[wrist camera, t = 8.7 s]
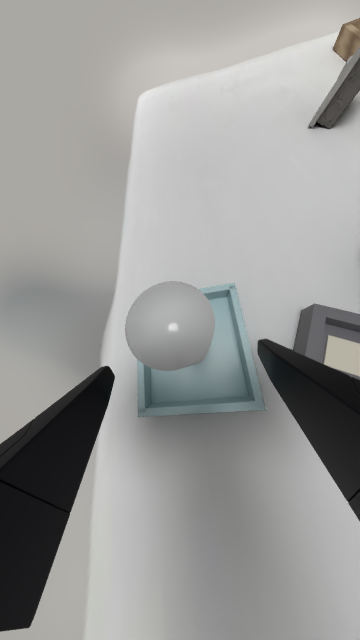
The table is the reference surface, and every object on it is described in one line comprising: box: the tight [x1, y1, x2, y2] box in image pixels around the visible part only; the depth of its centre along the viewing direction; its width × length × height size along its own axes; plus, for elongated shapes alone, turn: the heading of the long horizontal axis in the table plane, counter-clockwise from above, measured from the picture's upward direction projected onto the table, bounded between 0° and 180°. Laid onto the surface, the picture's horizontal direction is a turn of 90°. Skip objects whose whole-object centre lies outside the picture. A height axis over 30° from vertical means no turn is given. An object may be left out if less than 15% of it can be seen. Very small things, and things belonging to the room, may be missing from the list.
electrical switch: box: [309, 46, 360, 129], centre depth 24 cm, size 9×5×9 cm, turn 142°
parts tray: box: [138, 283, 266, 417], centre depth 19 cm, size 15×14×3 cm
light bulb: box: [125, 281, 215, 371], centre depth 13 cm, size 5×5×13 cm
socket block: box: [293, 304, 360, 380], centre depth 16 cm, size 9×9×2 cm
